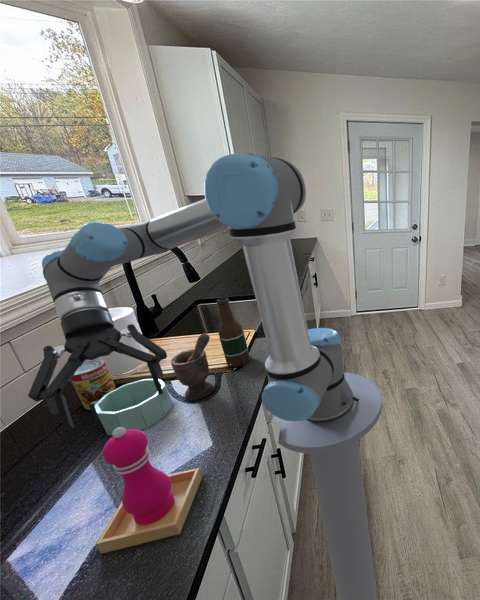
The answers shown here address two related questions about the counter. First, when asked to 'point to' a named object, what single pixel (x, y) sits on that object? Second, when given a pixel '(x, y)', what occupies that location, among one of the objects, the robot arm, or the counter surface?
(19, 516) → the counter surface
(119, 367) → the canister
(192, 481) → the tray
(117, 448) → the pepper mill
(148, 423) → the green faceted bowl
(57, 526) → the counter surface
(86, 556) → the counter surface
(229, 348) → the beer bottle
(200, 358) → the mortar and pestle
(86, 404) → the canned food
